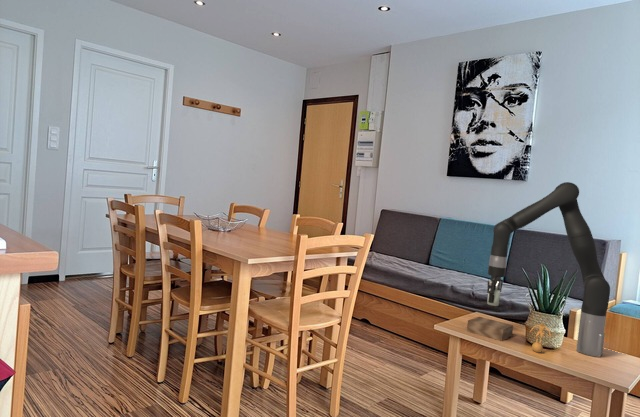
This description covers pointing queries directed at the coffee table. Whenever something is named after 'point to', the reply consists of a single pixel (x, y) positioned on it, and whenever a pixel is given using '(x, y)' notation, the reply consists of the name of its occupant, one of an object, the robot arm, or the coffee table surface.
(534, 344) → the figurine
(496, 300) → the sage canister
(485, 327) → the walnut box
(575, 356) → the coffee table surface
